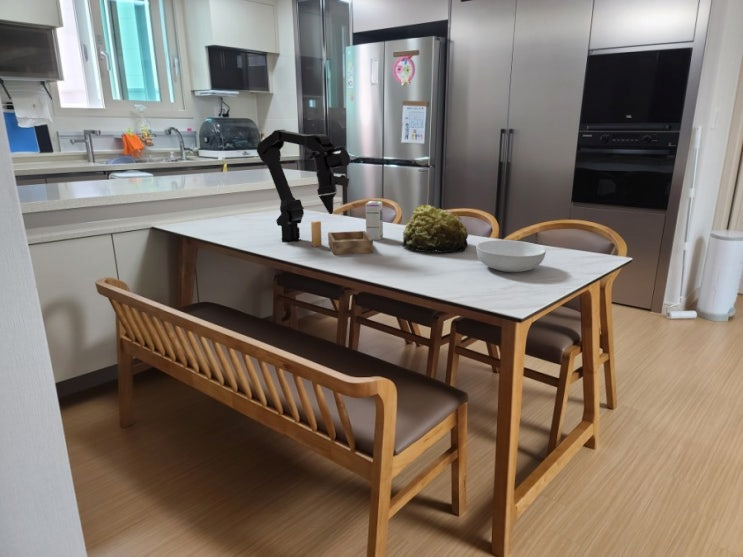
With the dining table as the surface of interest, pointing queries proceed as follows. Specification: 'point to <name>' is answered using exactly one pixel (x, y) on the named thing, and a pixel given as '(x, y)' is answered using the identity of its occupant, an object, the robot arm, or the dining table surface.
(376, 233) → the syrup box
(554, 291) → the dining table surface
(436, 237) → the lumpy green mound
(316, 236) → the peg
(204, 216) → the dining table surface
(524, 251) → the serving bowl
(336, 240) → the crate
